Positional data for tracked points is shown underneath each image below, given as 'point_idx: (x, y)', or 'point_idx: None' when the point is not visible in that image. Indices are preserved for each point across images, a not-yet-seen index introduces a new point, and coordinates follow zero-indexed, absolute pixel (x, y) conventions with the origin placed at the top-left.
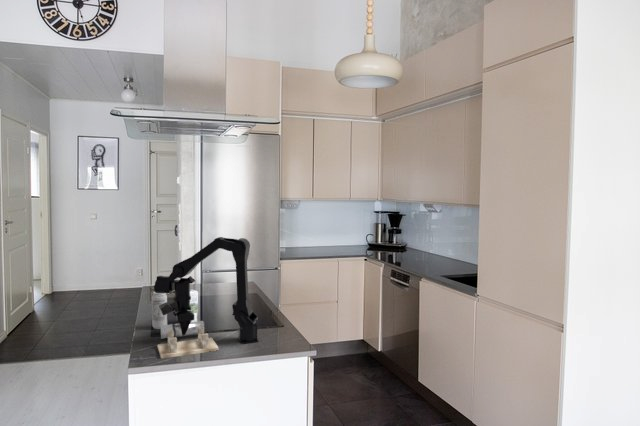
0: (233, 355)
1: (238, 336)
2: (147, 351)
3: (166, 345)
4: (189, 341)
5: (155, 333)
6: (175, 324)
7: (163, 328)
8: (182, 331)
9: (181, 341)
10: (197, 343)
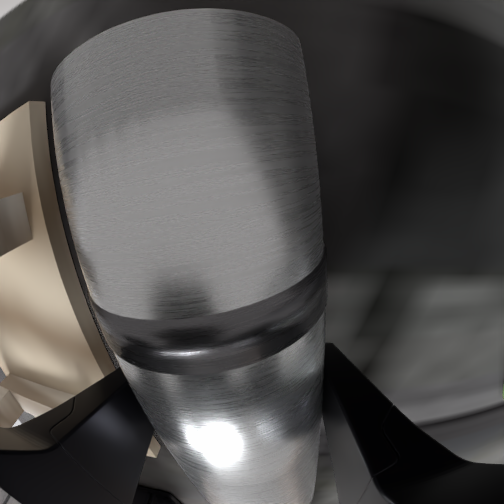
0: (24, 420)
1: (142, 499)
2: (8, 60)
3: (4, 184)
4: (76, 356)
5: (471, 63)
6: (163, 380)
7: (53, 114)
8: (121, 375)
9: (71, 306)
10: (55, 381)
